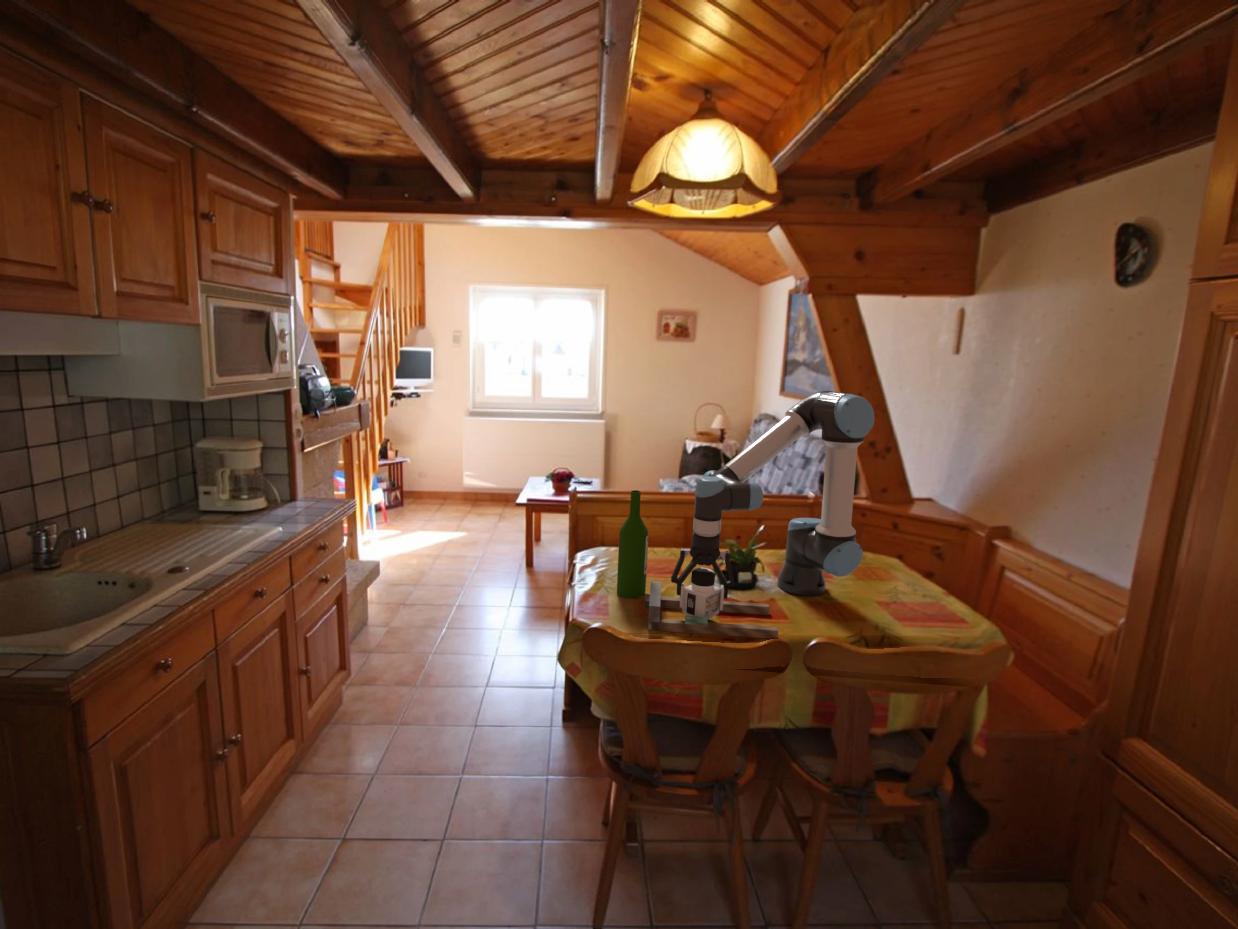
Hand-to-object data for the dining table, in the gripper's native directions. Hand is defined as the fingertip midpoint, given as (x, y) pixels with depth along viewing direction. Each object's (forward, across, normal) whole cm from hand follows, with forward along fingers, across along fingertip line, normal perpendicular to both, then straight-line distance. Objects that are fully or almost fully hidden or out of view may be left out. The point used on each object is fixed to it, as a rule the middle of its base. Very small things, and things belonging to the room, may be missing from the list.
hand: (700, 607), depth 179 cm
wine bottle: (+4, +20, -16) cm, 26 cm away
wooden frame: (+4, -2, 0) cm, 5 cm away
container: (+2, 0, 0) cm, 2 cm away
